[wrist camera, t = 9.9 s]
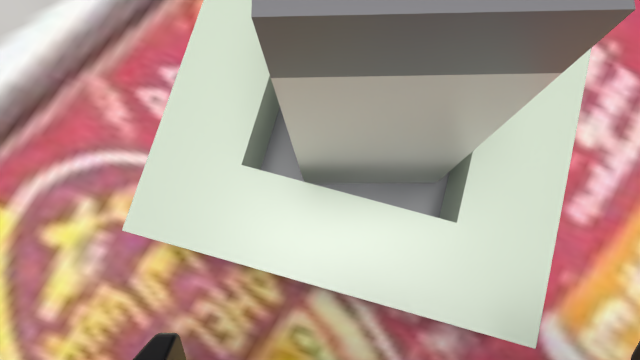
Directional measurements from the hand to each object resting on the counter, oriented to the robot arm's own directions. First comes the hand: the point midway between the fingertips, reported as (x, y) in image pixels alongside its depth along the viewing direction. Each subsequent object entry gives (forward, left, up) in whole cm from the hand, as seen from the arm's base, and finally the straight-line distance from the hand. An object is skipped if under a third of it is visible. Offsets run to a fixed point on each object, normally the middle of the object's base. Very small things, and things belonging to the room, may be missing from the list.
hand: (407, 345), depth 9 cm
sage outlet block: (+7, +2, -9) cm, 11 cm away
